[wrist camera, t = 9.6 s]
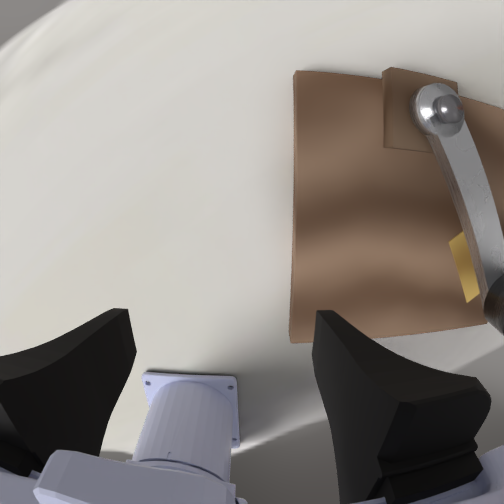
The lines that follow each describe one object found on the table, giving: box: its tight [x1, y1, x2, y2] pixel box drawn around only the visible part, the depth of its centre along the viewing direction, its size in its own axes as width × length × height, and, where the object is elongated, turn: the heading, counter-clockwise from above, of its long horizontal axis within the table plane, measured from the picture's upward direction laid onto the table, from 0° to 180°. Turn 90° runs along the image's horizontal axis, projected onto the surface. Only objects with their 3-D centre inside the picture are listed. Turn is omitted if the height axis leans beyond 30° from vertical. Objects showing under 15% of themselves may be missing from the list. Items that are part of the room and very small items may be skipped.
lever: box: [409, 83, 504, 335], centre depth 15 cm, size 18×4×6 cm, turn 32°
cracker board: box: [289, 67, 504, 343], centre depth 19 cm, size 18×18×3 cm
